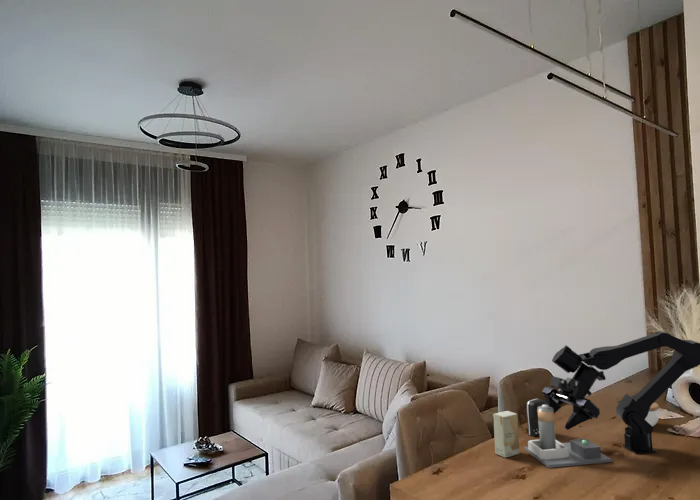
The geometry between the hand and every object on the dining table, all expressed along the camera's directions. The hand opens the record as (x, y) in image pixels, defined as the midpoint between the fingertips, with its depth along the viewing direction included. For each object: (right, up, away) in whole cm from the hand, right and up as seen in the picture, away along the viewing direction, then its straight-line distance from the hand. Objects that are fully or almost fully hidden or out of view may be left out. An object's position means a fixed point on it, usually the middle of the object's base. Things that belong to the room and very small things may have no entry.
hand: (555, 424), depth 140 cm
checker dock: (+3, -9, -2) cm, 9 cm away
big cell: (-2, -8, -1) cm, 8 cm away
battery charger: (+2, -10, +16) cm, 19 cm away
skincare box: (-14, -10, +2) cm, 17 cm away
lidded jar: (+39, -8, +19) cm, 44 cm away
